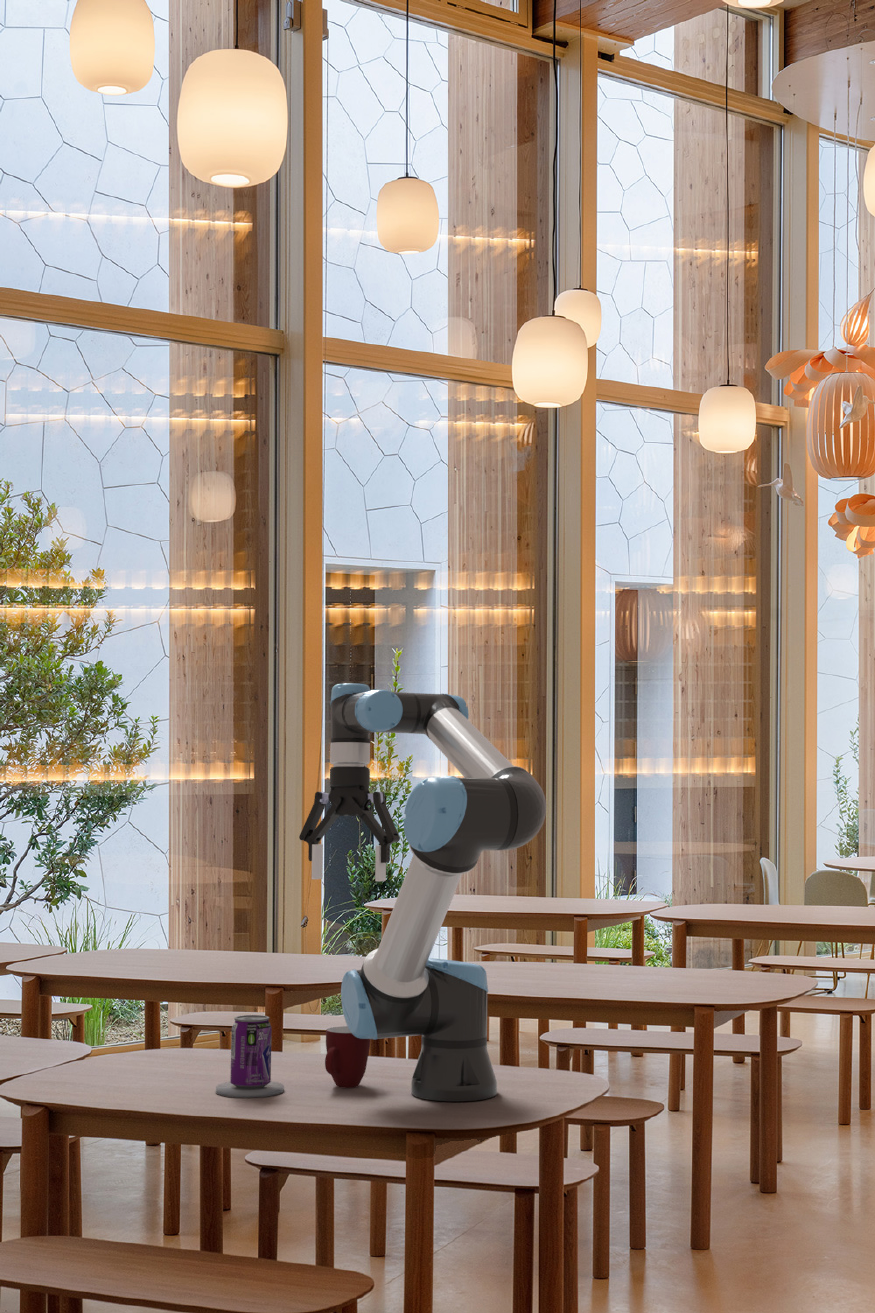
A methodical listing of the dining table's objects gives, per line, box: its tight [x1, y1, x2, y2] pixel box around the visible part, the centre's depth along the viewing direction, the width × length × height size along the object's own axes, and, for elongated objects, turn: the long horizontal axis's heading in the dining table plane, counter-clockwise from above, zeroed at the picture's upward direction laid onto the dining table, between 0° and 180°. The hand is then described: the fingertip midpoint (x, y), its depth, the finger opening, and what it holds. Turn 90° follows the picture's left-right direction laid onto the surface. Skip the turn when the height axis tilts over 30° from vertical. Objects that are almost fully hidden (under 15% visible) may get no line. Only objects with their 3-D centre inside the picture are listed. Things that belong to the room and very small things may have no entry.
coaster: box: [215, 1080, 285, 1099], centre depth 248 cm, size 12×12×1 cm
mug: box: [324, 1025, 371, 1089], centre depth 252 cm, size 11×8×10 cm
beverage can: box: [229, 1014, 273, 1089], centre depth 249 cm, size 7×7×12 cm
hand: (348, 880), depth 260 cm, fingers open, 13 cm apart
